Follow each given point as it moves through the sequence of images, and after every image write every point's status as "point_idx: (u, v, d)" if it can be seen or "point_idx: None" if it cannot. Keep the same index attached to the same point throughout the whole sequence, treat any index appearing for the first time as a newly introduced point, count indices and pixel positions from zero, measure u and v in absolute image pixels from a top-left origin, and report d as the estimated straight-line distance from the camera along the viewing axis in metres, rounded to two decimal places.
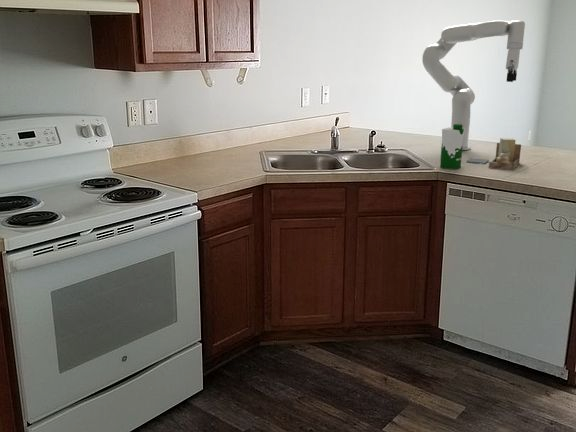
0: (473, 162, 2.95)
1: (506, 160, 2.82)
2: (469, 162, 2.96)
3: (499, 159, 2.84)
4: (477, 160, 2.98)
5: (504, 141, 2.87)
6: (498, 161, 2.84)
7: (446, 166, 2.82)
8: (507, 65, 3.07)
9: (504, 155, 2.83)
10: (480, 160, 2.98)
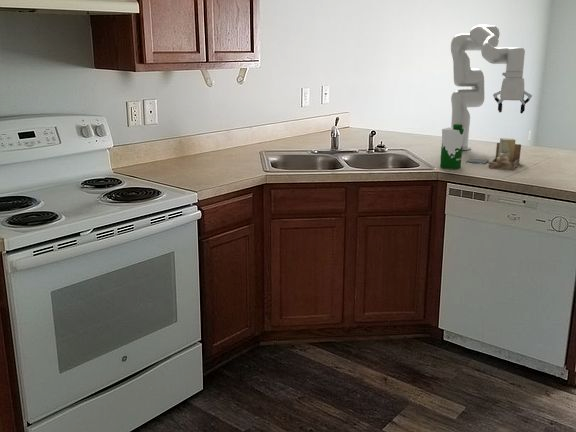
0: (473, 162, 2.95)
1: (506, 160, 2.82)
2: (469, 162, 2.96)
3: (499, 159, 2.84)
4: (477, 160, 2.98)
5: (504, 141, 2.87)
6: (498, 161, 2.84)
7: (446, 166, 2.82)
8: (522, 96, 2.82)
9: (504, 155, 2.83)
10: (480, 160, 2.98)
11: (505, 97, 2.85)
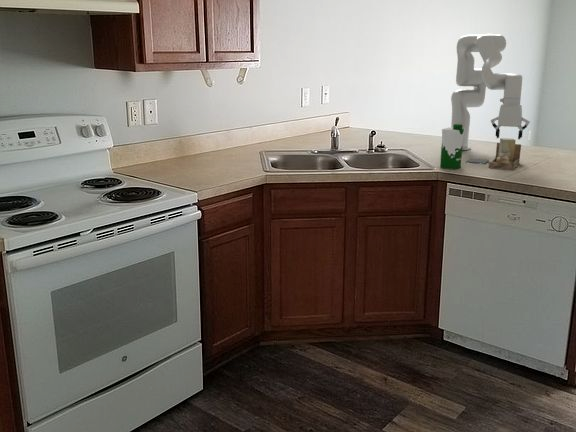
0: (473, 162, 2.95)
1: (506, 160, 2.82)
2: (469, 162, 2.96)
3: (499, 159, 2.83)
4: (477, 160, 2.98)
5: (504, 141, 2.87)
6: (498, 161, 2.84)
7: (446, 166, 2.82)
8: (520, 122, 2.82)
9: (504, 155, 2.83)
10: (480, 160, 2.98)
11: (503, 123, 2.85)
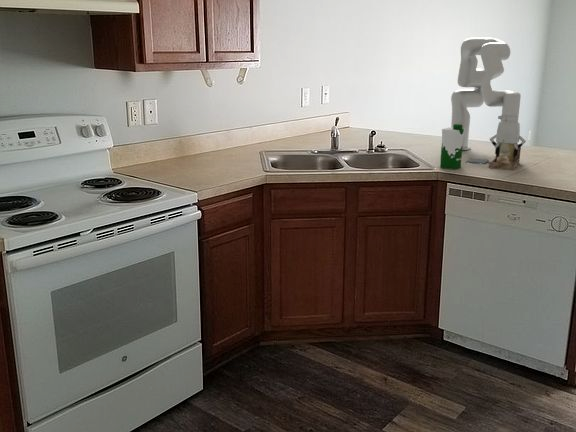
0: (473, 162, 2.95)
1: (506, 160, 2.82)
2: (469, 162, 2.96)
3: (499, 159, 2.83)
4: (477, 160, 2.98)
5: None
6: (498, 161, 2.84)
7: (446, 166, 2.82)
8: (518, 140, 2.85)
9: (503, 155, 2.83)
10: (480, 160, 2.98)
11: (501, 140, 2.88)
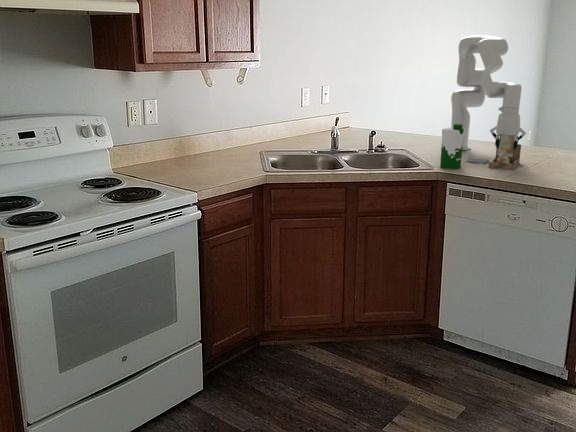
0: (473, 162, 2.95)
1: (507, 160, 2.82)
2: (469, 162, 2.96)
3: (499, 159, 2.83)
4: (477, 160, 2.98)
5: (504, 133, 2.87)
6: (498, 161, 2.84)
7: (446, 166, 2.82)
8: (518, 131, 2.84)
9: (504, 155, 2.82)
10: (480, 160, 2.98)
11: (501, 132, 2.87)
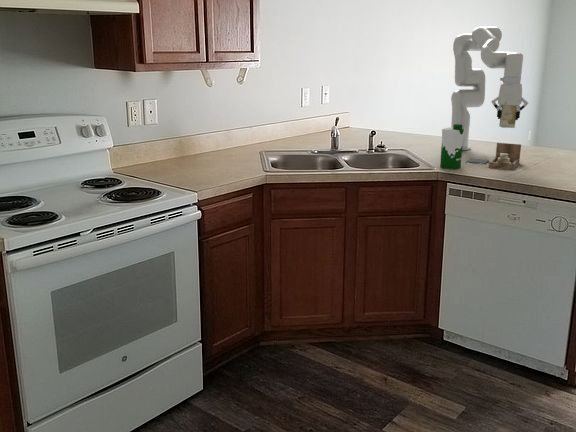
0: (473, 162, 2.95)
1: (507, 160, 2.82)
2: (469, 162, 2.96)
3: (500, 159, 2.83)
4: (477, 160, 2.98)
5: (506, 103, 2.83)
6: (499, 161, 2.84)
7: (446, 166, 2.82)
8: (520, 101, 2.81)
9: (504, 155, 2.82)
10: (480, 160, 2.98)
11: (503, 102, 2.83)
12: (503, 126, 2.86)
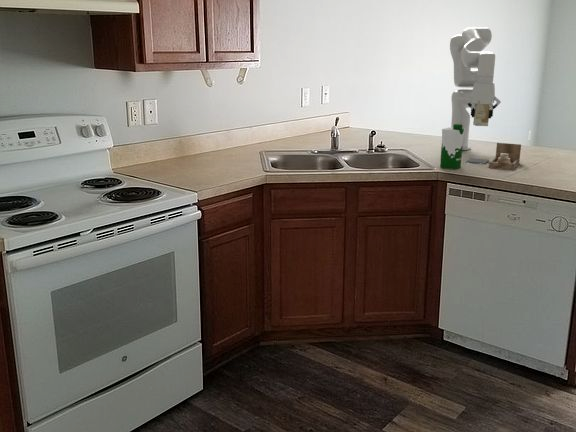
0: (473, 162, 2.95)
1: (507, 160, 2.82)
2: (469, 162, 2.96)
3: (500, 159, 2.83)
4: (477, 160, 2.98)
5: (479, 102, 2.88)
6: (499, 161, 2.84)
7: (446, 166, 2.82)
8: (493, 100, 2.86)
9: (505, 155, 2.82)
10: (480, 160, 2.98)
11: (476, 101, 2.89)
12: (476, 124, 2.91)
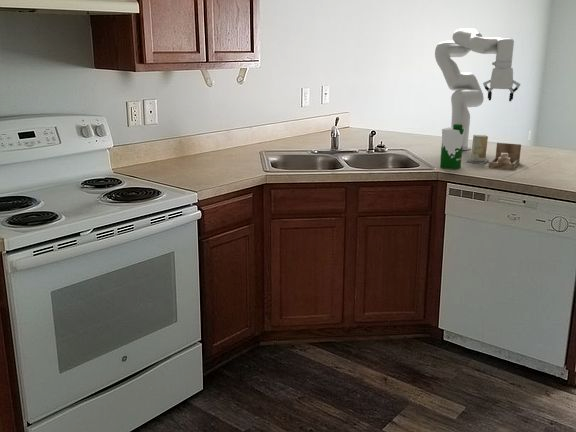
0: (473, 162, 2.95)
1: (508, 160, 2.82)
2: (469, 162, 2.96)
3: (501, 159, 2.84)
4: None
5: (476, 137, 2.93)
6: (500, 161, 2.84)
7: (446, 166, 2.82)
8: (511, 84, 2.95)
9: (505, 155, 2.83)
10: None
11: (495, 86, 2.98)
12: (473, 159, 2.96)
